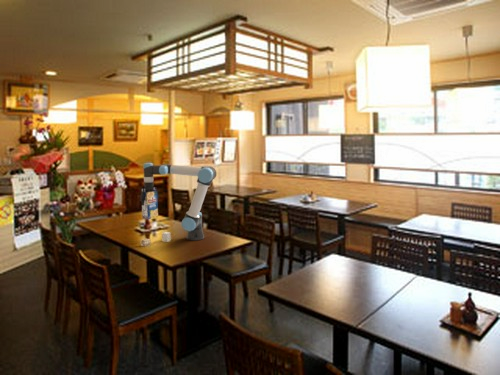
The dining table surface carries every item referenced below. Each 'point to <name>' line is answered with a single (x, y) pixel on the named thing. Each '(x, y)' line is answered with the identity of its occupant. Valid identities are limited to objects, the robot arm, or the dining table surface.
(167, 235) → the white plastic block
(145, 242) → the maple cube
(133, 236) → the dining table surface
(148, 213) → the beverage box
